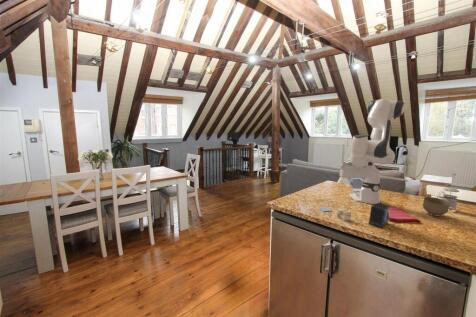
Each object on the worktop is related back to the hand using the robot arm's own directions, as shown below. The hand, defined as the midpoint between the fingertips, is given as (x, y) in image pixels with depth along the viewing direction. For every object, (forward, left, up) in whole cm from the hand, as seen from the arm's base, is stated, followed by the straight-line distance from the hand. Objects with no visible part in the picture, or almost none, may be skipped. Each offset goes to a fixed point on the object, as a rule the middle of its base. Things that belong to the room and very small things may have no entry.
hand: (355, 184), depth 143 cm
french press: (-3, +70, -18) cm, 73 cm away
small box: (+15, +6, -19) cm, 25 cm away
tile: (-7, -14, -18) cm, 24 cm away
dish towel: (+3, +26, -19) cm, 32 cm away
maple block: (+7, -10, -18) cm, 22 cm away
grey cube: (0, 0, -2) cm, 2 cm away
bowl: (+5, +52, -18) cm, 55 cm away
